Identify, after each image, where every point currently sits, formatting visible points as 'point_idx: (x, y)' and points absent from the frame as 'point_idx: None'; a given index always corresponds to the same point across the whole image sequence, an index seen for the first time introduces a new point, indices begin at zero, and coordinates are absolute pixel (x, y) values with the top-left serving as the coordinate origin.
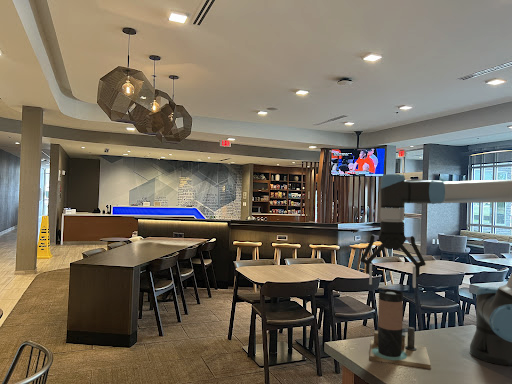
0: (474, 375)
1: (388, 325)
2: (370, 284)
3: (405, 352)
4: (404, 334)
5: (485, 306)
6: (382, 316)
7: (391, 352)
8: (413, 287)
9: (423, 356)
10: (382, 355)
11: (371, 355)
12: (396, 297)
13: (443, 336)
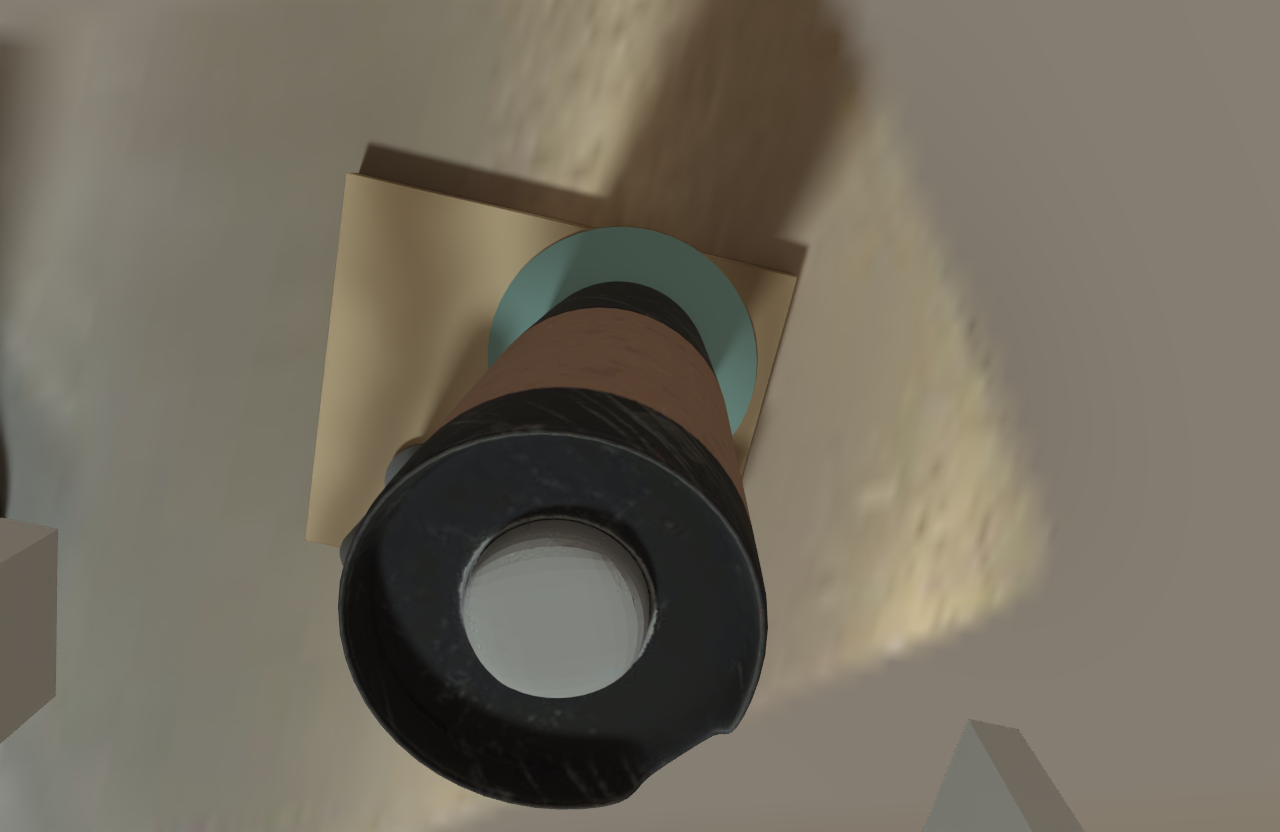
0: (61, 100)
1: (647, 326)
2: (993, 724)
3: None
4: None
5: None
6: (710, 391)
7: (624, 284)
8: (46, 529)
9: (365, 340)
10: (691, 302)
11: (780, 294)
12: (496, 417)
13: (127, 811)
